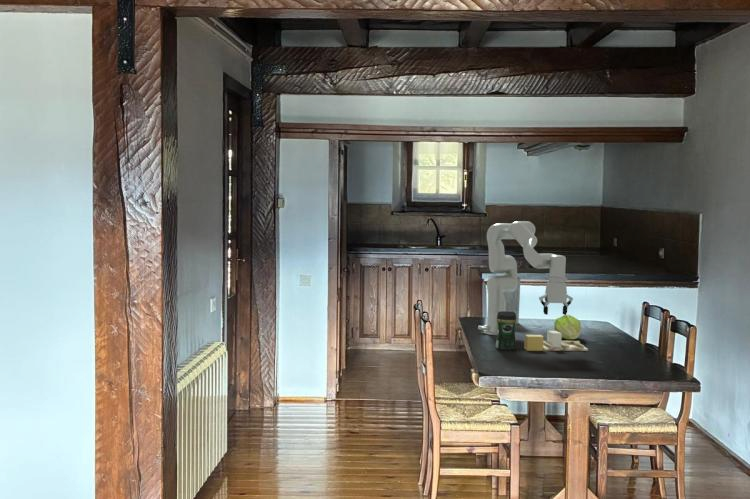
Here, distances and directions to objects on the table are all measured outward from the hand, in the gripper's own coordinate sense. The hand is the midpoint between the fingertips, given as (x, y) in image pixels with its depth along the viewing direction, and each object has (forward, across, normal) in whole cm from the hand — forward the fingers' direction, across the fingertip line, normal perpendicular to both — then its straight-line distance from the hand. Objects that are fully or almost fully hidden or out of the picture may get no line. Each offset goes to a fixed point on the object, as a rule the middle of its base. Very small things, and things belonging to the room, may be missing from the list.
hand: (555, 314), depth 379 cm
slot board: (+17, -5, 0) cm, 18 cm away
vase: (+18, -1, -71) cm, 74 cm away
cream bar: (+16, 0, 0) cm, 16 cm away
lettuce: (+17, -17, -23) cm, 34 cm away
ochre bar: (+17, +11, +3) cm, 21 cm away
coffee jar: (+17, +25, +2) cm, 31 cm away
